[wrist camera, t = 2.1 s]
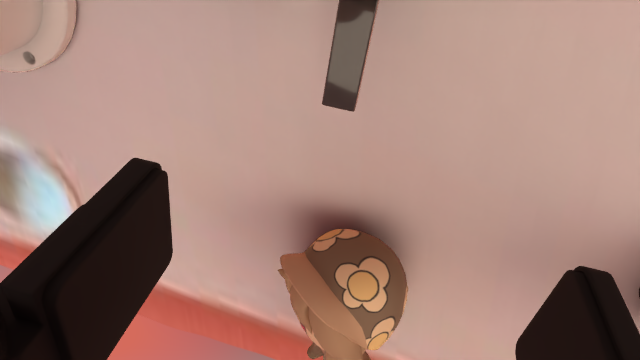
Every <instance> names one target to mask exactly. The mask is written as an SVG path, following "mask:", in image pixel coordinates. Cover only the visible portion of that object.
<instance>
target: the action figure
mask: <svg viewBox="0 0 640 360" xmlns="http://www.w3.org/2000/svg"><path fill="white" fill-rule="evenodd" d="M280 260H281V266H282V268H283V269H279V270H278V271H279V273H280V274H281V276H282V277H283V278H284V279H285V282H286V286H287V289H288V291H289V293H290V300H291V304H292V307H293V309H294V311H295V313H296V315H297V317H298V320H299V322H300V324H301V326H302V327H303V329H304V331H305V332H306V333H307V335H308V336H309V338H310V339H311V340H312V341H313V344H312V345H311V346H310V347H309V348H308V351H307V354H308V356H309V357H310V358H312V359H315V358H318V357H320V356H322V355H323V360H371V359H370V357H369V355H368V354H367V352H366V351H365V349H369V350H377V349H379V348H380V347H381V346H382V345H383V344H384V343H385V342H386V341H387V340H388V339H389V338H390V336H391V335H392V333H393V332H394V330H395V328H396V327H397V325H398V323H399V321H400V319H401V317H402V314H403V312H404V308H405V305H406V301H407V292H408V286H407V281H406V275H405V272H404V269H403V267H402V265H401V262H400V260H399V258H398V257H397V256H396V254H395V253H394V252H393V250H392V249H391V248H390V247H389V246H387V245H386V244H385V243H384V242H382V241H381V240H380V239H378V238H376V237H374V236H372V235H369V234H367V233H364V232H360V231H356V230H350V229H336V230H332V231H329V232H327V233H325V234H324V235H322V236H320V237H319V238H318V239H317V240H316V241H315V242H314V243H313V244H311V245H310V247H309V248H308V249H307V250H306V251H305V252H303V253H296V254H286V255H282V256H281V257H280Z"/></svg>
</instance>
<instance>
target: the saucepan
mask: <svg viewBox="0 0 640 360" xmlns="http://www.w3.org/2000/svg"><path fill="white" fill-rule="evenodd" d="M378 4H379V0H339V5H338V11H337V17H336V23H335V29H334V35H333V41H332V47H331V53H330V59H329V65H328V71H327V77H326V83H325V89H324V95H323V101H322V104H323V105H326V106H330V107H335V108H339V109H343V110H348V111H352V112H353V111H354V110H355V107H356V104H357V100H358V96H359V91H360V87H361V82H362V78H363V73H364V68H365V64H366V59H367V55H368V50H369V46H370V41H371V36H372V32H373V27H374V23H375V18H376V14H377V9H378Z"/></svg>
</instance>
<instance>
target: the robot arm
mask: <svg viewBox="0 0 640 360" xmlns="http://www.w3.org/2000/svg"><path fill="white" fill-rule="evenodd" d="M75 24H76V0H0V71H7V72H14V73H15V72H28V71H31V70H34V69H37V68H40V67H43V66H44V65H46V64H48V63H50V62H52V61H54V60H55V59H56V58H57V57H58V56H59V55H60V54H62V53H63V52H64V51H65V49H66V47H67V45H68V44H69V42H70V40H71V38H72V35H73V31H74V27H75ZM172 253H173V248H172V233H171V218H170V203H169V189H168V176H167V173H166V171H162V169H161V166H160V164H158V163H155V162H151V161H147V160H143V159H139V158H133V159H131V160H130V161H129V162H128V163H127V164H126V165H125V166H124V167H123V168H122V169H121V170H120V171H119V172H118V173H117V174H116V175H115V176H114V177H113V178H112V179H111V180H110V181H109V182H107V183H106V184H105V185H104V186H103V187H102V188H101V189H100V190H99V191H98V192H97V193H96V194H95V195H94V196H93V197H92V198H91V199H90V200H89V201H88V202H87V203H86V204H84V205H82V206H81V207H79V208H78V209H77V210H76V211H75V212H74V213H73V214H71V215H70V216H69V217H68V218H67V219H66V220H65V221H64V222H63V223H62V224H61V225H60V226H59V227H58V228H57V229H56V230H55V231H54V232H53V233H52V234H51V235H50V236H49V237H48V238H47V239H46V240H45V241H44V242H42V243H41V244H40V245H39V246H38V247H37V248H36V249H35V250H34V251H33V252H32V253H31V254H30V255H29V256H28V257H27V258H26V259H25V260H24V261H23V262H22V263H21V264H20V265H19V266H18V267H17V268H16V269H15V270H13V271H12V273H11V274H9V275H8V276H7V277H6V278H5V279H4V280H3V281H2V282H1V283H0V360H107V358H108V357H109V355H110V354H111V352H112V351H113V349H114V348H115V346H116V345H117V343H118V341H119V340H120V338H121V337H122V335H123V334H124V332H125V331H126V329H127V328H128V326H129V325H130V323H131V321H132V320H133V319H134V317H135V315H136V314H137V312H138V311H139V309H140V308H141V306H142V305H143V303H144V302H145V300H146V299H147V297H148V296H149V294H150V293H151V291H152V289H153V288H154V286H155V285H156V283H157V282H158V280H159V279H160V277H161V276H162V274H163V273H164V271H165V270H166V268H167V267H168V265H169V263H170V261H171V258H172ZM515 353H516V360H640V334H639V332H638V330H637V328H636V325H635V323H634V321H633V319H632V317H631V315H630V313H629V310H628V308H627V306H626V304H625V302H624V300H623V298H622V296H621V293H620V291H619V289H618V287H617V285H616V283H615V281H614V278H613V277H612V275H611V274H610V273H608V272H605V271H601V270H597V269H592V268H588V267H584V266H579V267H577V268H575V269H574V270H568V271H567V272H566V273H565V274H564V275H563V277H562V278H561V279H560V281H559V282H558V284H557V285H556V287H555V288H554V289H553V291H552V292H551V294H550V295H549V296H548V298H547V299H546V301H545V302H544V304H543V305H542V306H541V308H540V309H539V311H538V312H537V313H536V315H535V316H534V318H533V319H532V321H531V322H530V323H529V325H528V326H527V328H526V329H525V330H524V332H523V333H522V335H521V336H520V337H519V339H518V341H517V344H516V350H515Z"/></svg>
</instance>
